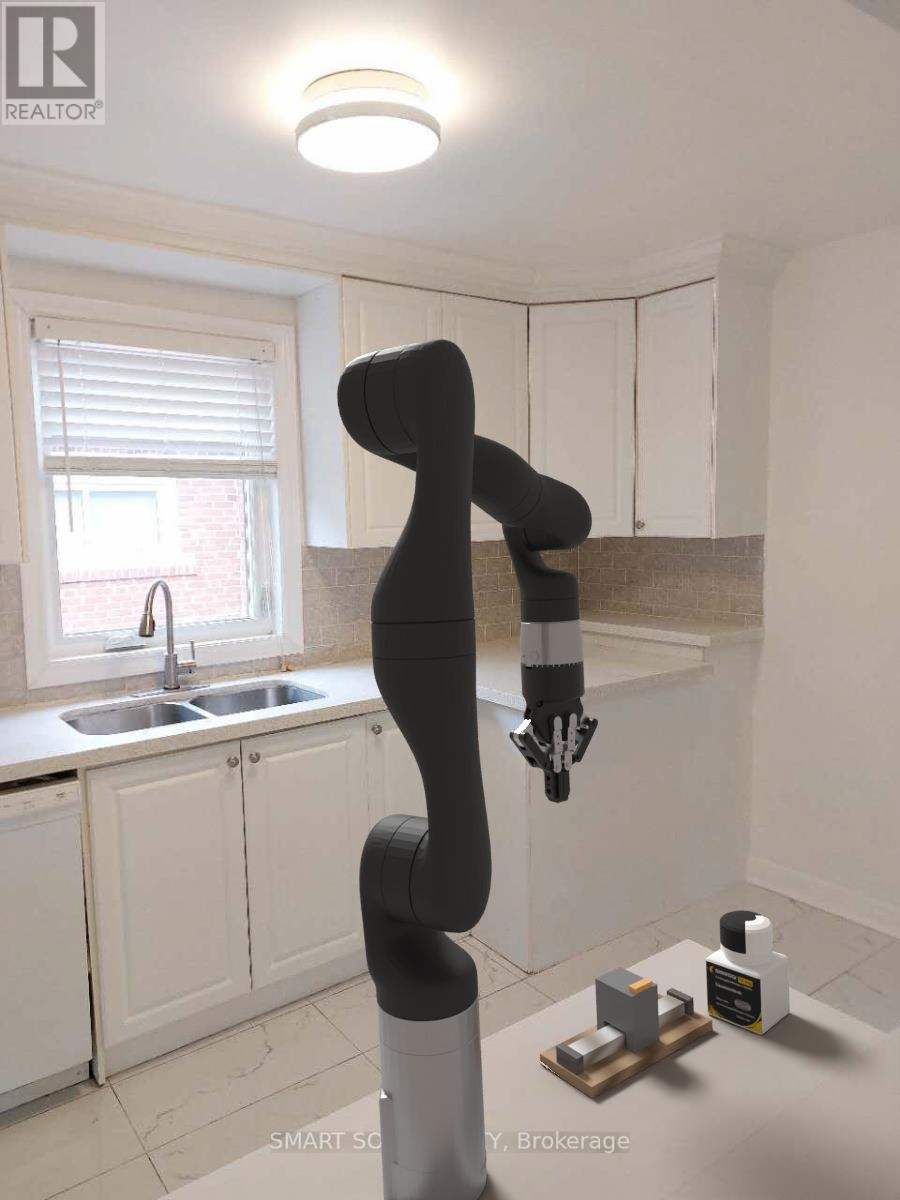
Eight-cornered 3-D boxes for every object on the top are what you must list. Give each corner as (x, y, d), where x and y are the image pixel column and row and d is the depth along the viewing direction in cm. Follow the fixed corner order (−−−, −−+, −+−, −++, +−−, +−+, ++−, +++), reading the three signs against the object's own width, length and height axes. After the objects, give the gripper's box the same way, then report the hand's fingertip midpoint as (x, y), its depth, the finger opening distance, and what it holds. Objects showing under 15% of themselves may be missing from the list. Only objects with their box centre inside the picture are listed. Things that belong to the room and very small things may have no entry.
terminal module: (634, 1053, 94) (631, 991, 93) (597, 1032, 98) (594, 973, 98) (659, 1039, 96) (657, 979, 96) (622, 1019, 101) (620, 962, 100)
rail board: (592, 1098, 88) (590, 1070, 88) (540, 1064, 95) (539, 1037, 94) (712, 1029, 100) (711, 1004, 100) (659, 1003, 106) (658, 979, 106)
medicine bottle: (706, 1014, 103) (703, 917, 103) (736, 993, 108) (733, 900, 107) (761, 1036, 98) (758, 934, 97) (791, 1013, 103) (788, 915, 102)
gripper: (569, 651, 109) (575, 785, 109) (489, 662, 101) (495, 805, 102) (613, 654, 103) (618, 796, 103) (531, 666, 95) (537, 819, 96)
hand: (557, 800), depth 103 cm, fingers closed
